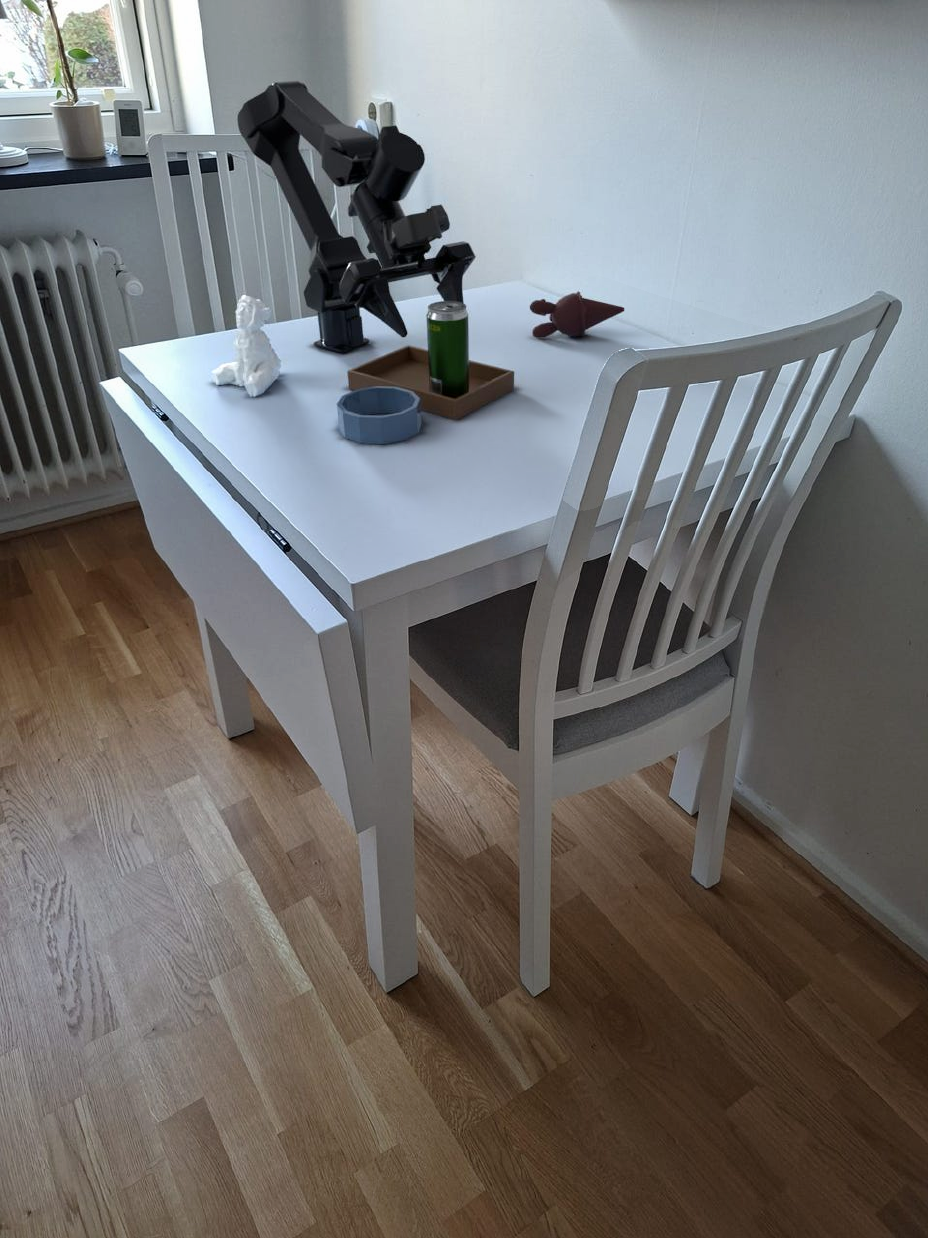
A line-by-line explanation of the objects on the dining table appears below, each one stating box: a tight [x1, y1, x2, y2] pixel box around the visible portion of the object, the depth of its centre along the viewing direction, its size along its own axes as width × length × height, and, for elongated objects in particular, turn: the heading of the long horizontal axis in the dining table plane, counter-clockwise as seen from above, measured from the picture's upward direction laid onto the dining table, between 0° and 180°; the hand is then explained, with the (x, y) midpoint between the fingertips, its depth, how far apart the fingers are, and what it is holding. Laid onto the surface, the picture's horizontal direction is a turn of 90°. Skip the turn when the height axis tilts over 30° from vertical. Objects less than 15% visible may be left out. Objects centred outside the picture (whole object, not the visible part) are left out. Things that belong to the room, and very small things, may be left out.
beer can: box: [425, 300, 470, 399], centre depth 114 cm, size 5×5×12 cm
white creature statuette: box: [211, 295, 282, 398], centre depth 121 cm, size 10×9×12 cm
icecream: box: [529, 290, 625, 339], centre depth 138 cm, size 7×7×15 cm
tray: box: [346, 344, 515, 421], centre depth 121 cm, size 19×13×3 cm
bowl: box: [336, 386, 422, 445], centre depth 110 cm, size 10×10×4 cm
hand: (434, 328), depth 115 cm, fingers open, 9 cm apart
